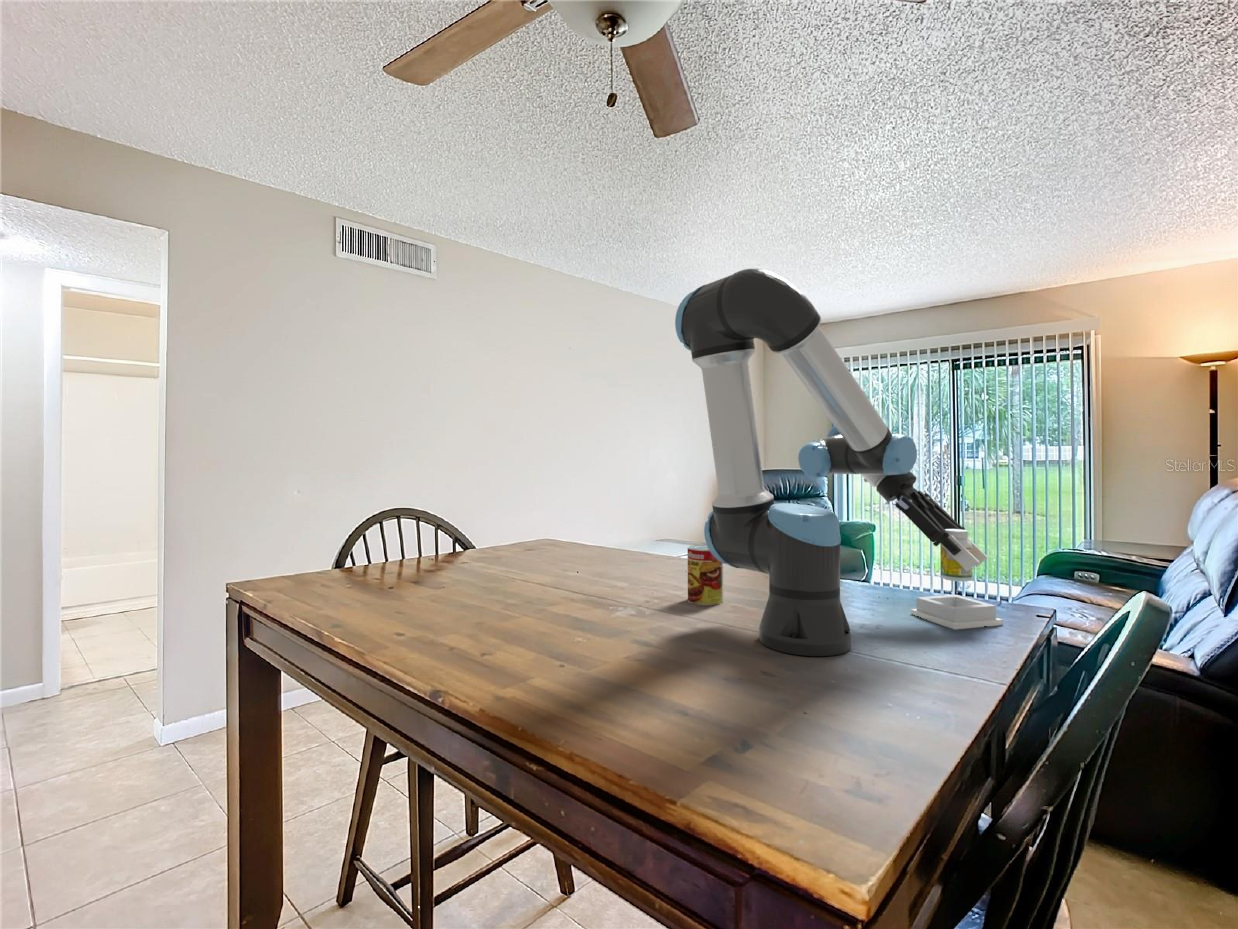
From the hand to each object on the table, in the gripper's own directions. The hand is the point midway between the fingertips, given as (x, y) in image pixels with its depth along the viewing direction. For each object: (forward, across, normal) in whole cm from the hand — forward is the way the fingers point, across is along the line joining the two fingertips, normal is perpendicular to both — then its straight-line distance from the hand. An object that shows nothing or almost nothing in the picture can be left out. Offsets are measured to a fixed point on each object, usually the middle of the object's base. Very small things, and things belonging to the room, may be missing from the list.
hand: (977, 564), depth 111 cm
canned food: (-26, +23, -42) cm, 54 cm away
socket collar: (+5, +1, -11) cm, 12 cm away
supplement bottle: (0, 0, -5) cm, 5 cm away
